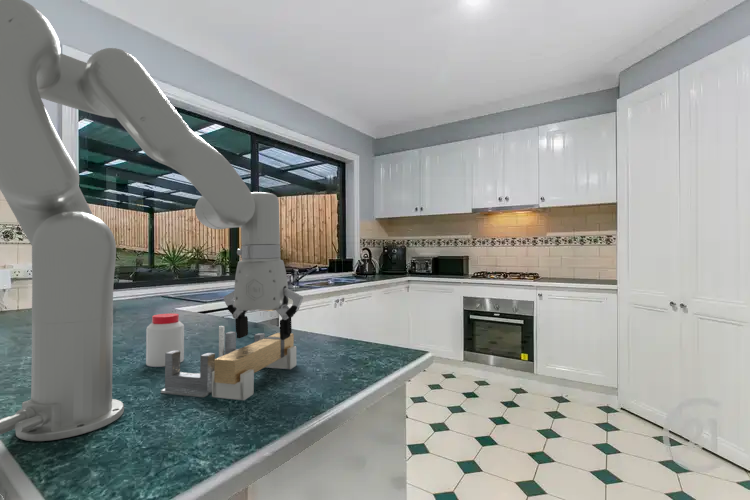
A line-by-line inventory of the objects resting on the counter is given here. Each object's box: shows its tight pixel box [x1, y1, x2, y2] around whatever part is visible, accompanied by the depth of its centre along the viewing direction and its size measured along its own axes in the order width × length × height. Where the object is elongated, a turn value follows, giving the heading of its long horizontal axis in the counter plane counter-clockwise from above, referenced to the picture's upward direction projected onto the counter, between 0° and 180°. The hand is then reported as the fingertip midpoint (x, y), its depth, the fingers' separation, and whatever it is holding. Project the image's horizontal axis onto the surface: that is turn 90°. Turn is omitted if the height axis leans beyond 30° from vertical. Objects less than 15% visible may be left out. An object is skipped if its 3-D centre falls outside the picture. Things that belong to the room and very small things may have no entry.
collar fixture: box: [160, 325, 266, 398], centre depth 78 cm, size 22×9×9 cm, turn 167°
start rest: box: [211, 345, 297, 401], centre depth 76 cm, size 21×6×4 cm, turn 167°
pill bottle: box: [145, 313, 185, 368], centre depth 88 cm, size 8×8×11 cm
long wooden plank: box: [214, 332, 295, 384], centre depth 76 cm, size 23×4×4 cm, turn 167°
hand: (263, 337), depth 77 cm, fingers open, 9 cm apart
